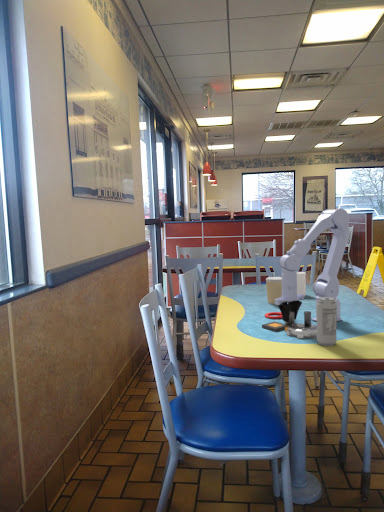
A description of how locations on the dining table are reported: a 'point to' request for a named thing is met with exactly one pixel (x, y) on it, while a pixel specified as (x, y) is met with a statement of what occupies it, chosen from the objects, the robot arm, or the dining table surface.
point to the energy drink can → (326, 321)
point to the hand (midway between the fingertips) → (289, 320)
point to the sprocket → (303, 328)
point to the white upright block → (301, 283)
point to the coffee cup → (273, 288)
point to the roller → (290, 318)
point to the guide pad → (274, 326)
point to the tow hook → (273, 316)
